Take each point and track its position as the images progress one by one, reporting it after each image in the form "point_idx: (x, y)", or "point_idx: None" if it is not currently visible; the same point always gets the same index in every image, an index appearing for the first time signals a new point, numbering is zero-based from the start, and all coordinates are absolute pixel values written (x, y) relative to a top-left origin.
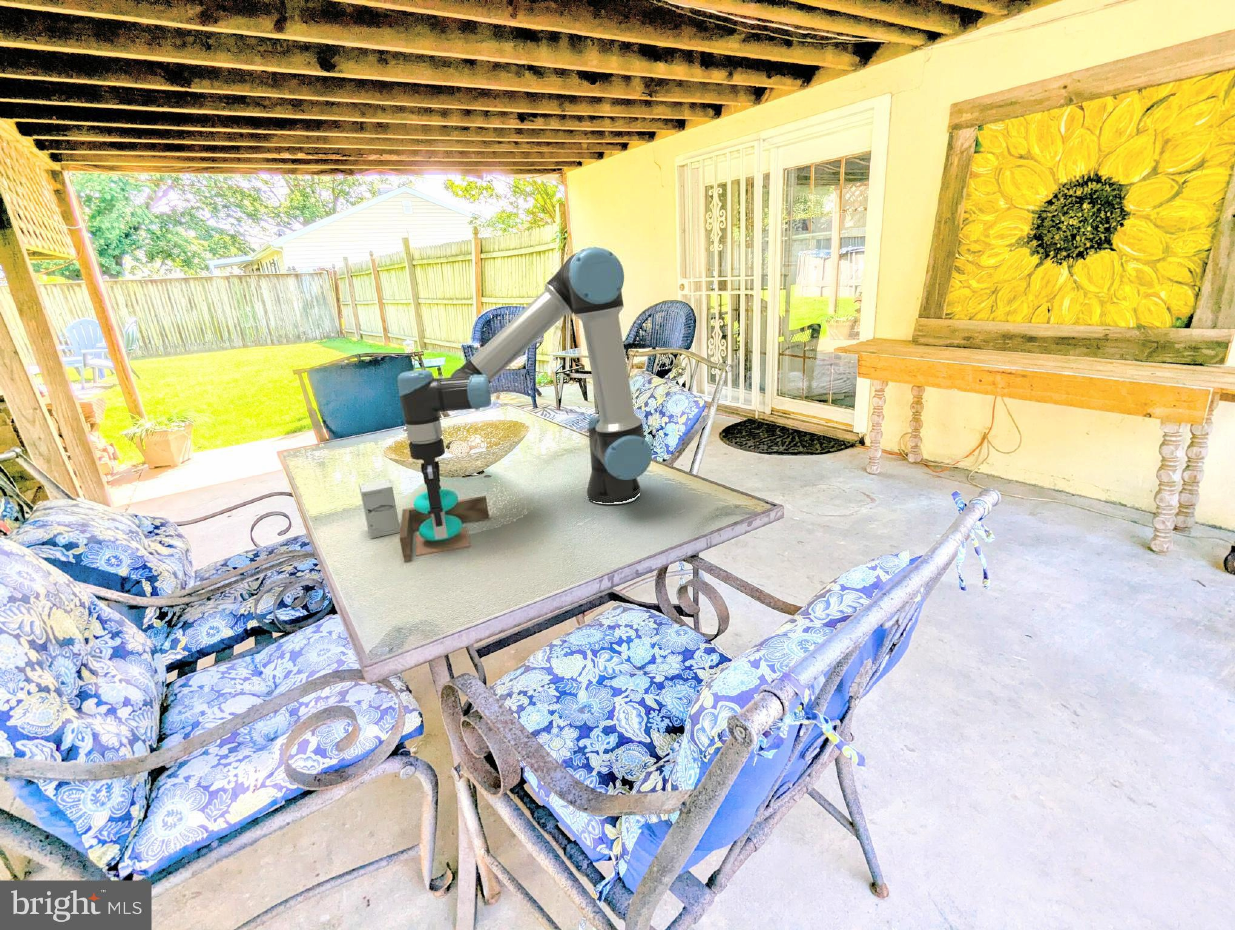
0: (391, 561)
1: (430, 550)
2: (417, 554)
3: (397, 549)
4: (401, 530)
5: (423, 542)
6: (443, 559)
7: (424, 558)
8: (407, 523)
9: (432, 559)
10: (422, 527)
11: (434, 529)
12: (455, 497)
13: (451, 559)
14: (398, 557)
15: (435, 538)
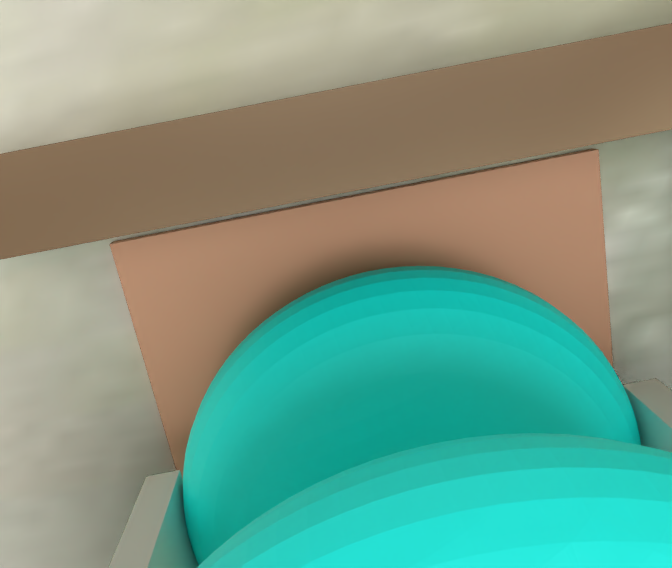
0: (37, 16)
1: (187, 355)
2: (119, 257)
3: (313, 10)
4: (99, 153)
5: (382, 257)
6: (19, 479)
7: (60, 324)
8: (363, 184)
9: (30, 394)
10: (318, 362)
11: (114, 561)
12: None
13: (11, 536)
14: (119, 69)
15: (145, 483)
